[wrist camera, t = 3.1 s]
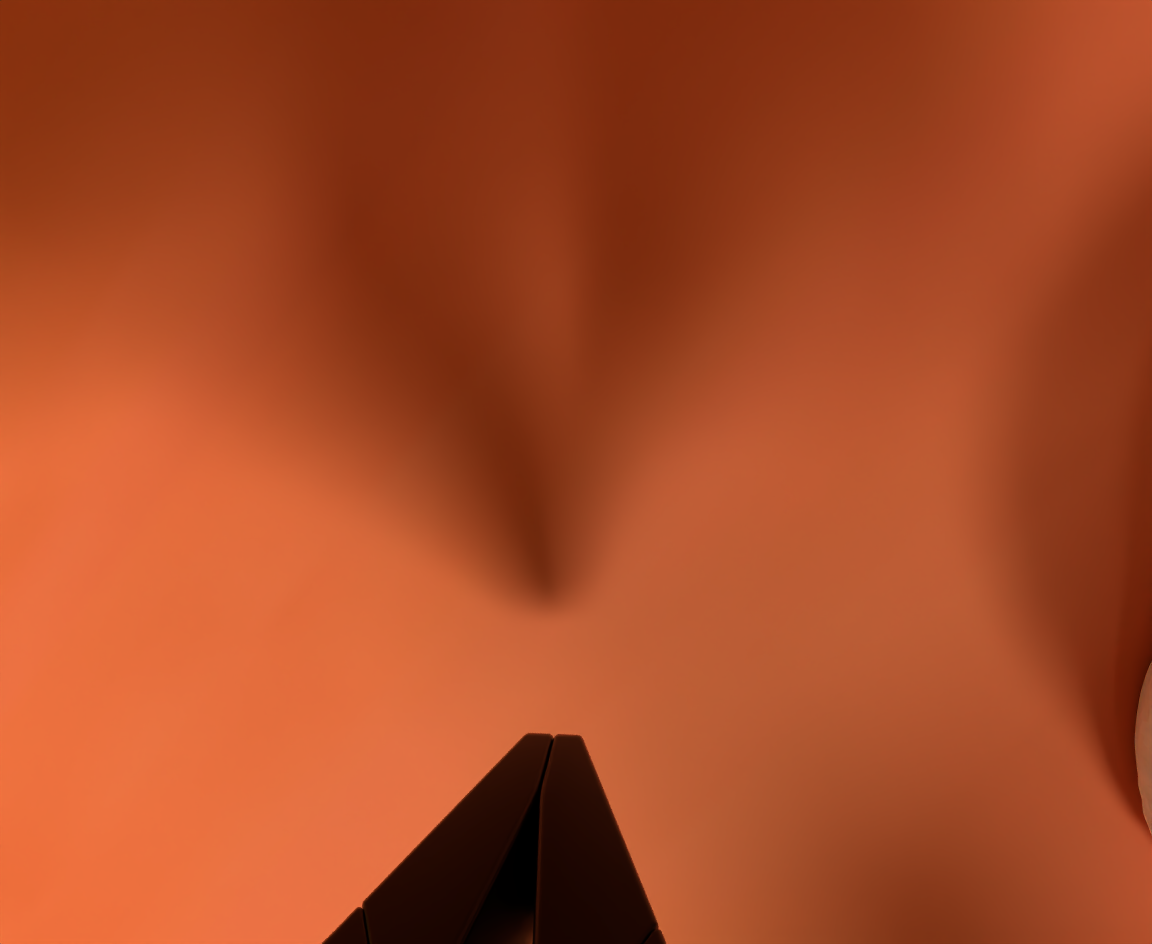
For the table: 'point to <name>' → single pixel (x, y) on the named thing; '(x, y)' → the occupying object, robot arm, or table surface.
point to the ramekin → (1145, 746)
